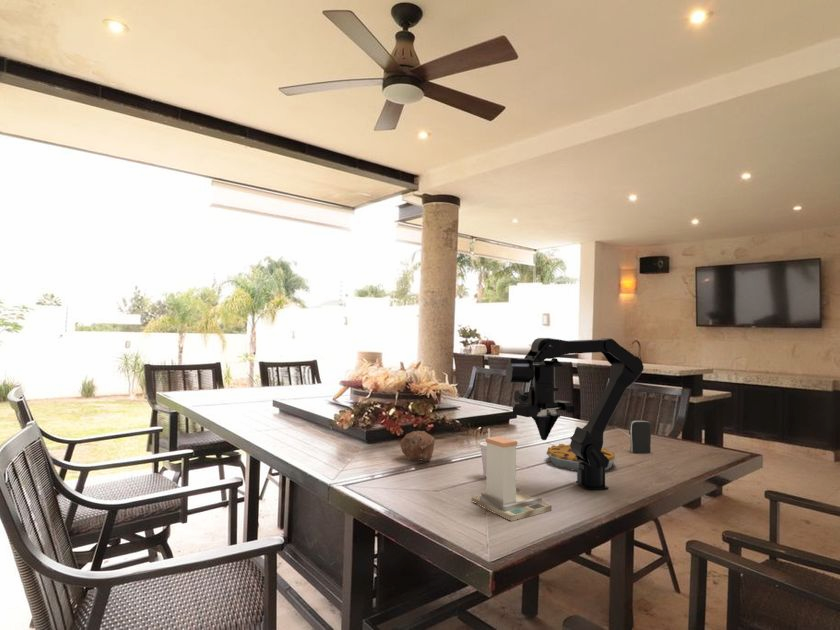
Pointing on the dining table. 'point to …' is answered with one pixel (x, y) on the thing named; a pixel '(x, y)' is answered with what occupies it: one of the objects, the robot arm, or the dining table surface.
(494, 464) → the white rectangular tower
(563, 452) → the pie
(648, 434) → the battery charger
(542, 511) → the switch base
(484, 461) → the smoothie
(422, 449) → the decorative rock
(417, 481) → the dining table surface
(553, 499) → the dining table surface
